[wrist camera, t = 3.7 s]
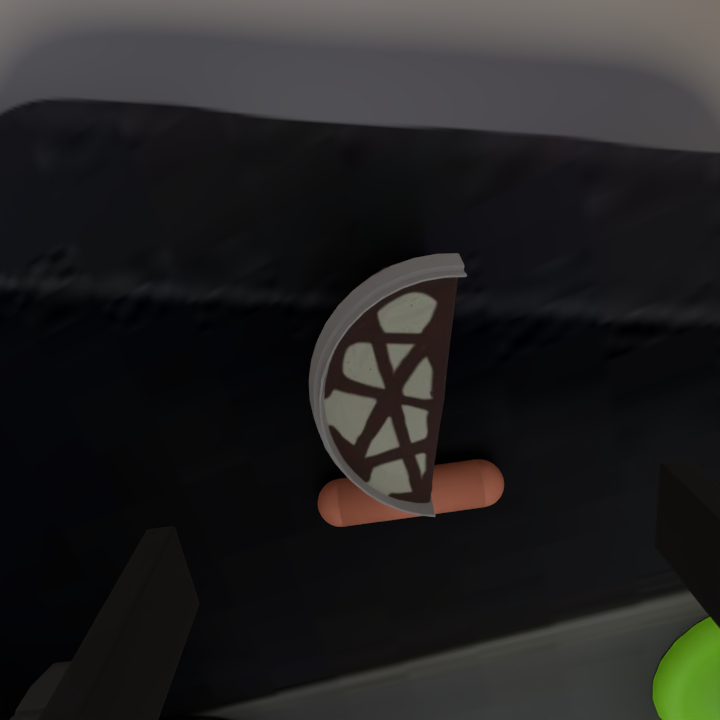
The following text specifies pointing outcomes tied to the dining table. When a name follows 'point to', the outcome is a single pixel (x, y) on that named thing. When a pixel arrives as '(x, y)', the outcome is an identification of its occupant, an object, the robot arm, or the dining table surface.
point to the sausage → (449, 493)
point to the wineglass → (690, 676)
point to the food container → (388, 379)
